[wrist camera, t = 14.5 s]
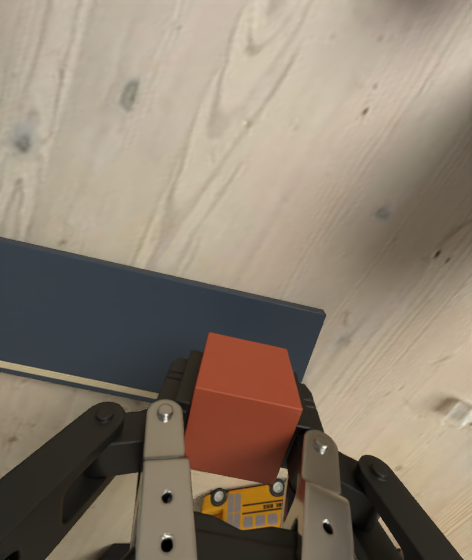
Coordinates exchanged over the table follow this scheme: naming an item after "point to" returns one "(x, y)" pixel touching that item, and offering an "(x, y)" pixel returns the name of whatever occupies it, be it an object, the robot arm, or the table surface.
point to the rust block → (242, 410)
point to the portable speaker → (116, 552)
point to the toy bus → (247, 506)
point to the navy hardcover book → (127, 321)
